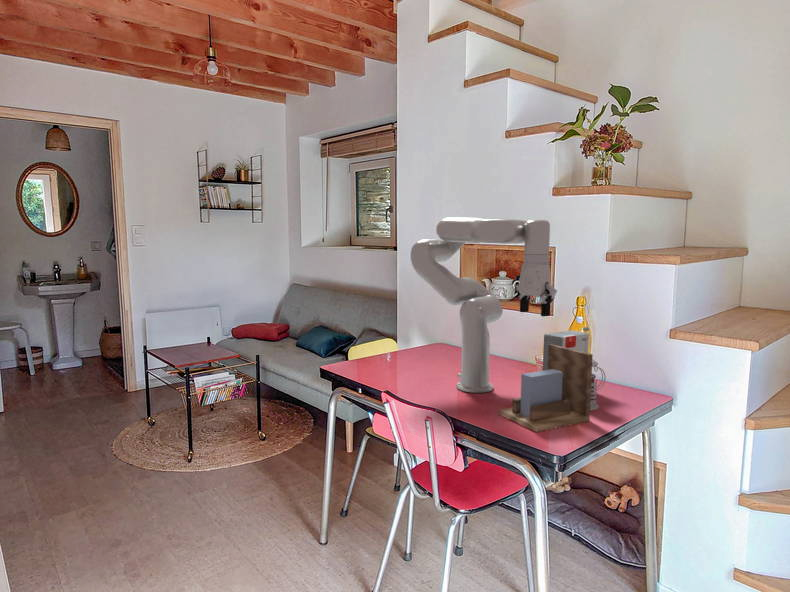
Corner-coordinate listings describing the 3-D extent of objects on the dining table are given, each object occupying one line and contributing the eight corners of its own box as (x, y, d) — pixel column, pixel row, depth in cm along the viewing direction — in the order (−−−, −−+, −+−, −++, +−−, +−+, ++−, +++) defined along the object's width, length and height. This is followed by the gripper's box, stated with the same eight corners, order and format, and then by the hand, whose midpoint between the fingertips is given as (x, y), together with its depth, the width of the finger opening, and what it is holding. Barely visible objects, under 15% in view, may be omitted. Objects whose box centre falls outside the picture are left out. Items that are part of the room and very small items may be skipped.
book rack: (499, 414, 159) (500, 350, 157) (549, 405, 168) (552, 344, 166) (536, 432, 145) (538, 362, 142) (589, 420, 154) (592, 354, 152)
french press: (561, 400, 172) (564, 324, 170) (595, 399, 174) (599, 323, 171) (574, 410, 163) (577, 329, 160) (610, 409, 164) (614, 329, 161)
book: (520, 414, 155) (521, 373, 153) (551, 408, 160) (552, 369, 159) (529, 418, 151) (531, 377, 150) (561, 412, 157) (562, 372, 155)
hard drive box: (559, 397, 176) (561, 337, 174) (540, 391, 183) (542, 334, 180) (587, 389, 186) (589, 332, 183) (568, 384, 192) (570, 329, 189)
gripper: (508, 259, 173) (507, 311, 175) (546, 261, 158) (544, 318, 160) (526, 258, 176) (525, 309, 178) (565, 260, 161) (563, 316, 163)
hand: (534, 313), depth 169 cm, fingers open, 9 cm apart
